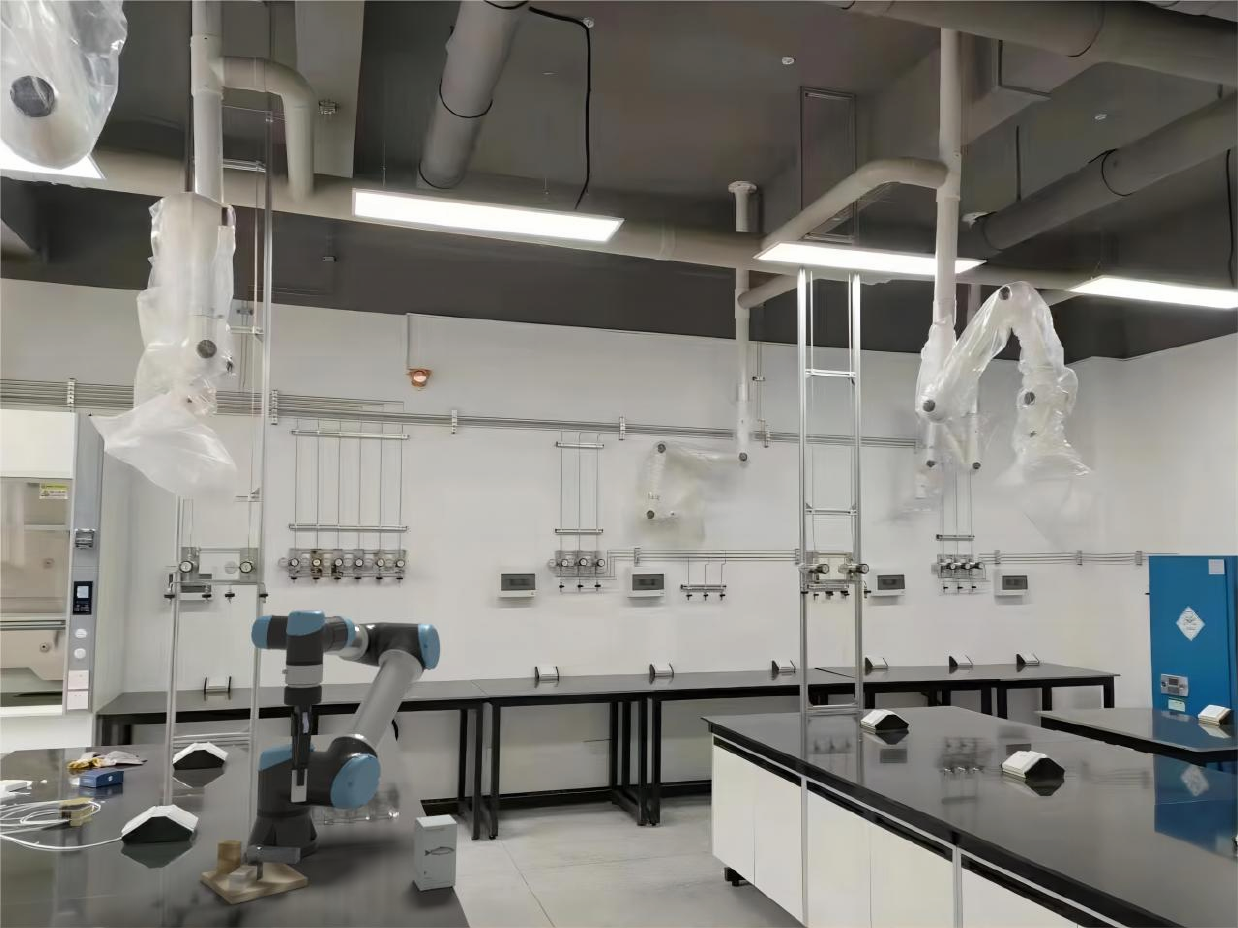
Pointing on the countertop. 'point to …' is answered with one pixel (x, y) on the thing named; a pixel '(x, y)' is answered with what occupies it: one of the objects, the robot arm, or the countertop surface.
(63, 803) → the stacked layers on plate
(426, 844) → the supplement box
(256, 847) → the swing bar
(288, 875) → the lock plate
